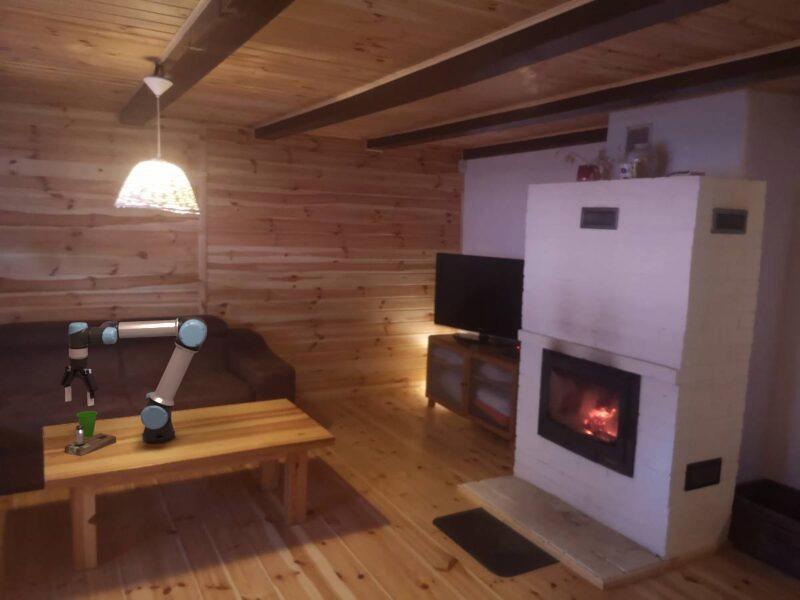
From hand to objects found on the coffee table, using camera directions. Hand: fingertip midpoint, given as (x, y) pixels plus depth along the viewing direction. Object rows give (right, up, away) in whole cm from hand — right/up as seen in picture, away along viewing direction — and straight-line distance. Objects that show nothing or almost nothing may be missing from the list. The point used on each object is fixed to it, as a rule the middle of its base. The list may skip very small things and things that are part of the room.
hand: (79, 403), depth 285 cm
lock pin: (-1, -22, +3) cm, 23 cm away
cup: (-8, -20, +23) cm, 32 cm away
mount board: (+1, -22, +8) cm, 23 cm away
